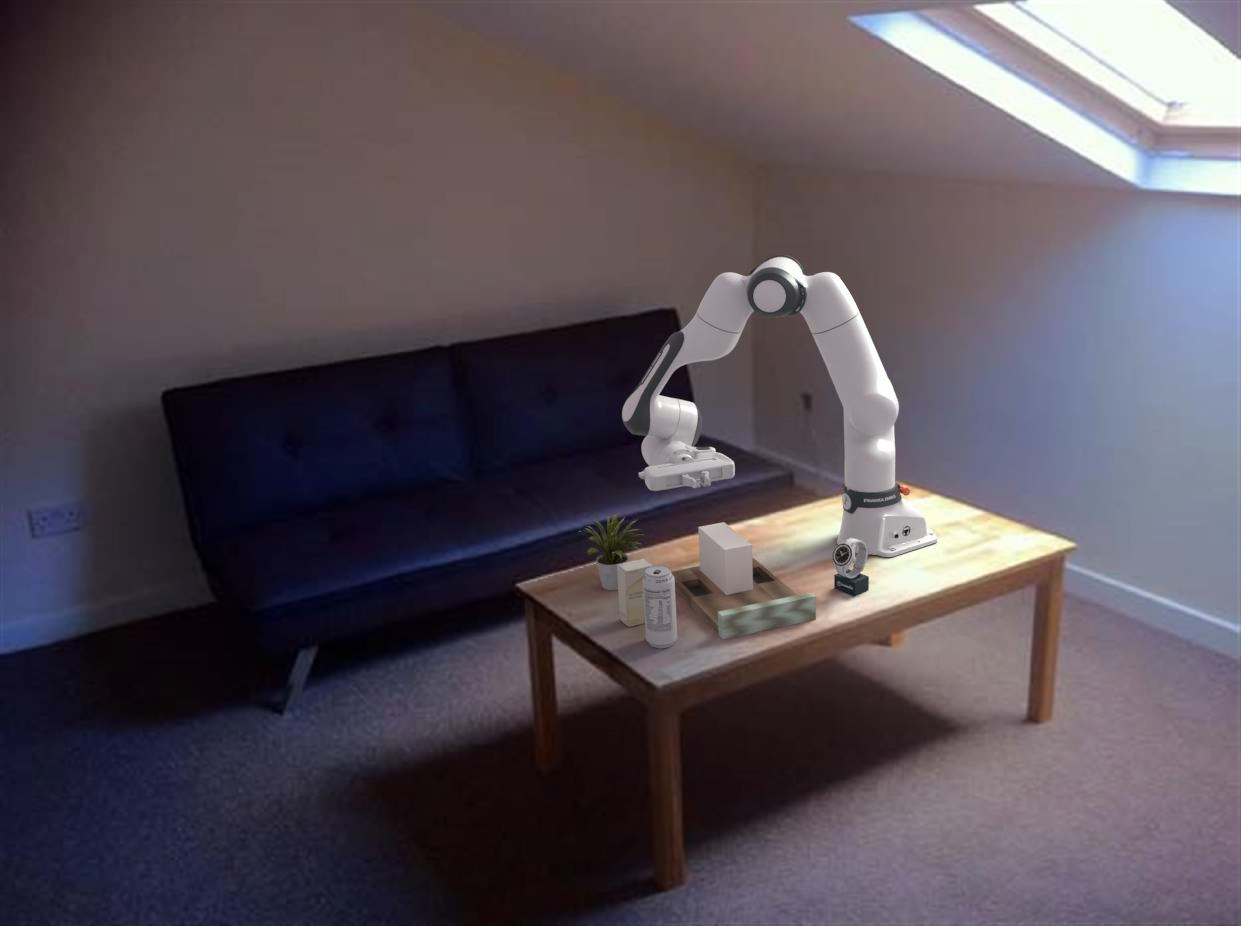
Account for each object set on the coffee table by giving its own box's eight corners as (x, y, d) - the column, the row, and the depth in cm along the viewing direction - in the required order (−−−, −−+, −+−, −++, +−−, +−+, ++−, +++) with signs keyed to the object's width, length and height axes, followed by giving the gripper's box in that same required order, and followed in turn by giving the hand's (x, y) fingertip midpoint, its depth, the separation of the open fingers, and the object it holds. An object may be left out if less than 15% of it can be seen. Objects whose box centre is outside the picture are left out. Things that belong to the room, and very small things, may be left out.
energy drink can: (681, 636, 216) (678, 565, 211) (671, 651, 210) (667, 578, 206) (652, 633, 218) (648, 562, 213) (641, 647, 213) (637, 575, 208)
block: (725, 564, 242) (724, 522, 239) (753, 589, 229) (751, 544, 226) (700, 569, 240) (698, 526, 237) (726, 594, 228) (724, 549, 225)
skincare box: (628, 627, 221) (624, 571, 217) (619, 619, 225) (615, 563, 221) (656, 620, 223) (653, 564, 219) (647, 612, 227) (644, 557, 223)
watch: (827, 591, 231) (827, 542, 228) (853, 579, 236) (853, 531, 232) (848, 599, 227) (849, 549, 223) (874, 587, 232) (875, 538, 228)
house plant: (605, 608, 230) (600, 534, 225) (565, 588, 240) (559, 518, 235) (657, 586, 238) (653, 515, 233) (616, 568, 249) (612, 500, 243)
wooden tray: (751, 564, 247) (750, 543, 245) (815, 619, 219) (815, 596, 218) (666, 580, 241) (665, 559, 239) (722, 639, 214) (721, 615, 212)
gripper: (634, 459, 248) (656, 477, 235) (719, 445, 254) (744, 462, 241) (636, 486, 250) (658, 505, 237) (720, 471, 256) (745, 490, 243)
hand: (702, 483), depth 239 cm, fingers closed
